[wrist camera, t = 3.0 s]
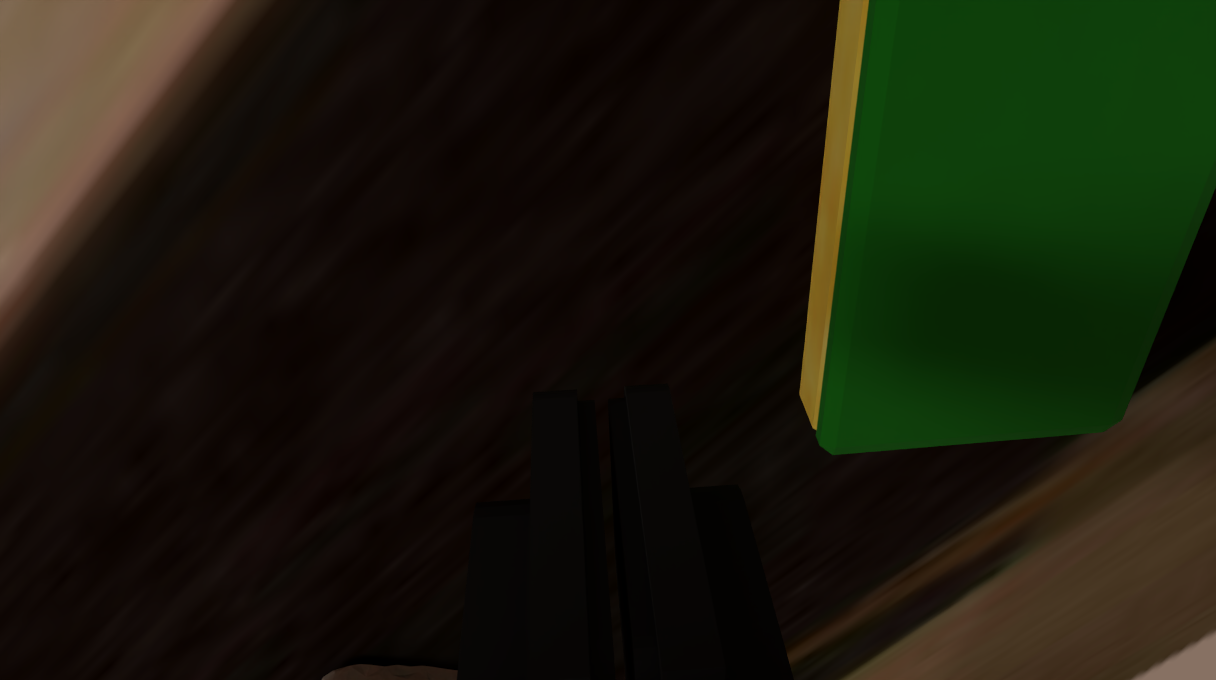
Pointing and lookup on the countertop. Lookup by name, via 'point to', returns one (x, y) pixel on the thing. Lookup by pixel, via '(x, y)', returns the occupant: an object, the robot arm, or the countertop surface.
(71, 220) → the countertop surface
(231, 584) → the countertop surface
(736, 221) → the countertop surface
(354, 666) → the brick
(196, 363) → the countertop surface
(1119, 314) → the dish sponge
